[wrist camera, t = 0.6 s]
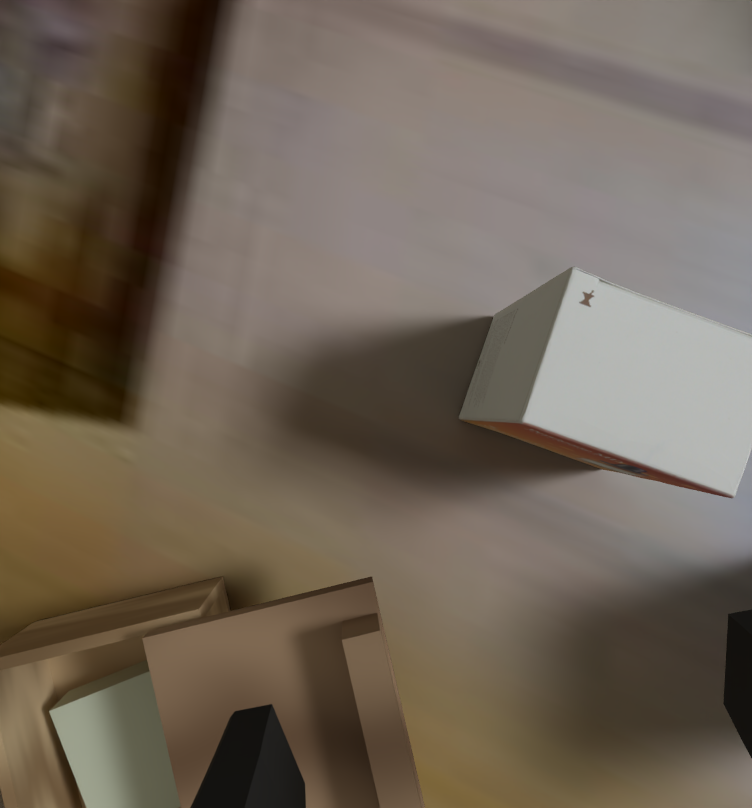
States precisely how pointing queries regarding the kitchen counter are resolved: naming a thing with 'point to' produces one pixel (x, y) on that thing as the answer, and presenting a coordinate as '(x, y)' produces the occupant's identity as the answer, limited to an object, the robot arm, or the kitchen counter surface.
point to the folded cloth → (117, 742)
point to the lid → (291, 693)
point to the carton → (75, 681)
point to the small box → (618, 383)
